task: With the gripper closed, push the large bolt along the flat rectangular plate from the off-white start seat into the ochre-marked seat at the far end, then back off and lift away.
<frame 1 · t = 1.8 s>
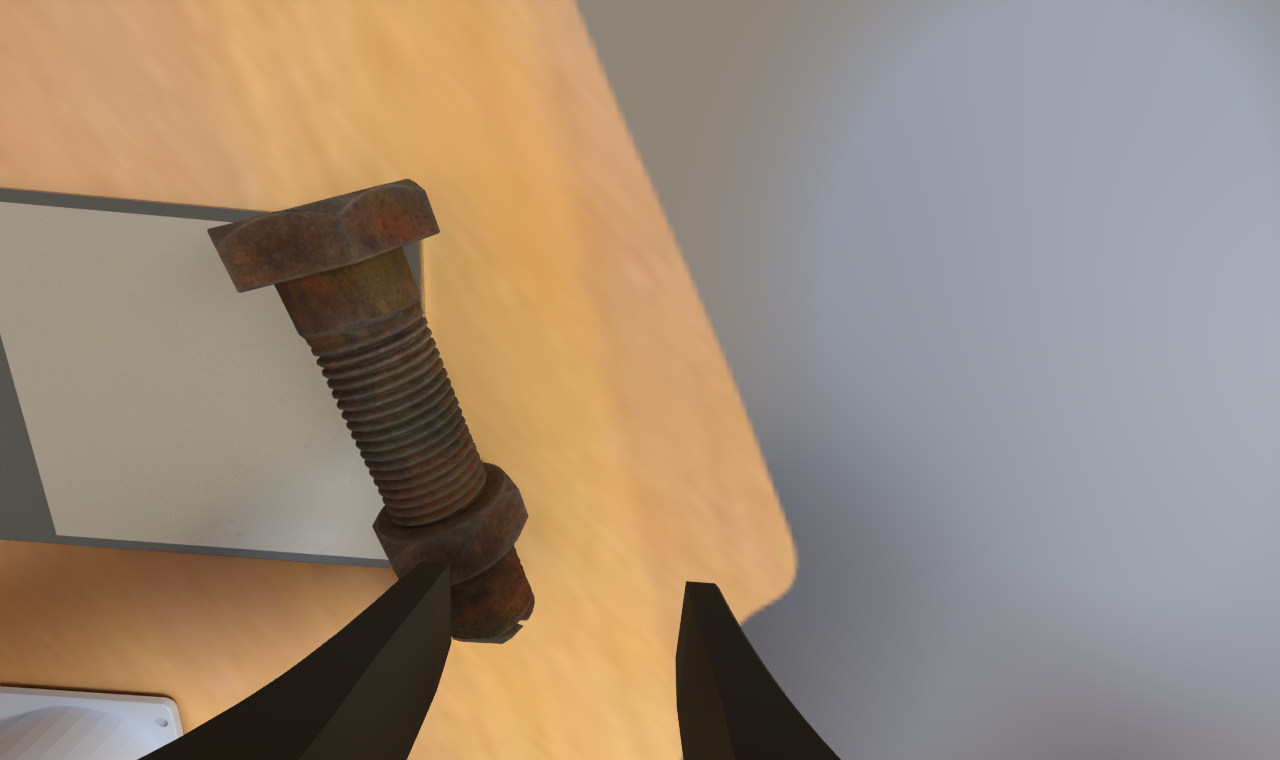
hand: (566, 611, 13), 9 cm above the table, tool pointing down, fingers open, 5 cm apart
flat rectangular plate: (23, 380, 21), on the table
bolt: (432, 412, 21), on the table, touching flat rectangular plate
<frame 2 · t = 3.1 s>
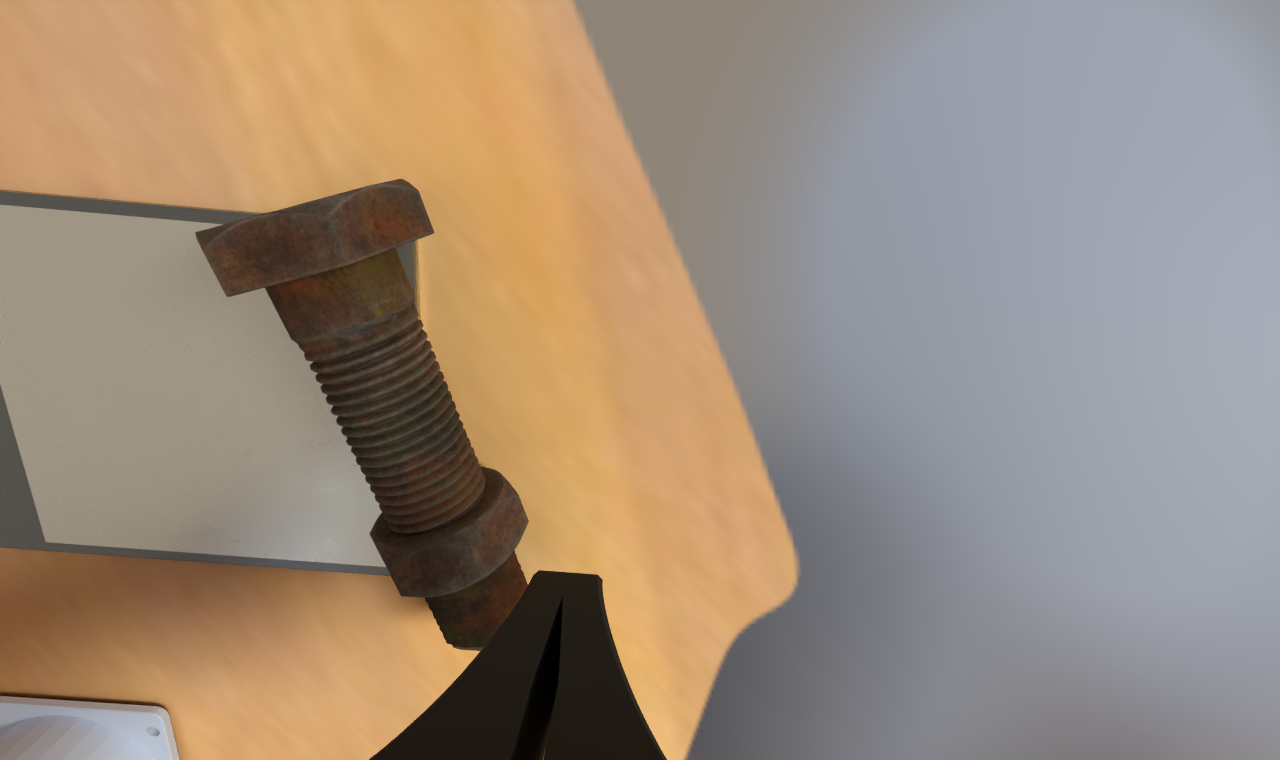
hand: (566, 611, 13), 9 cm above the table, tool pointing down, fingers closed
flat rectangular plate: (10, 385, 20), on the table
bolt: (430, 416, 21), on the table, touching flat rectangular plate
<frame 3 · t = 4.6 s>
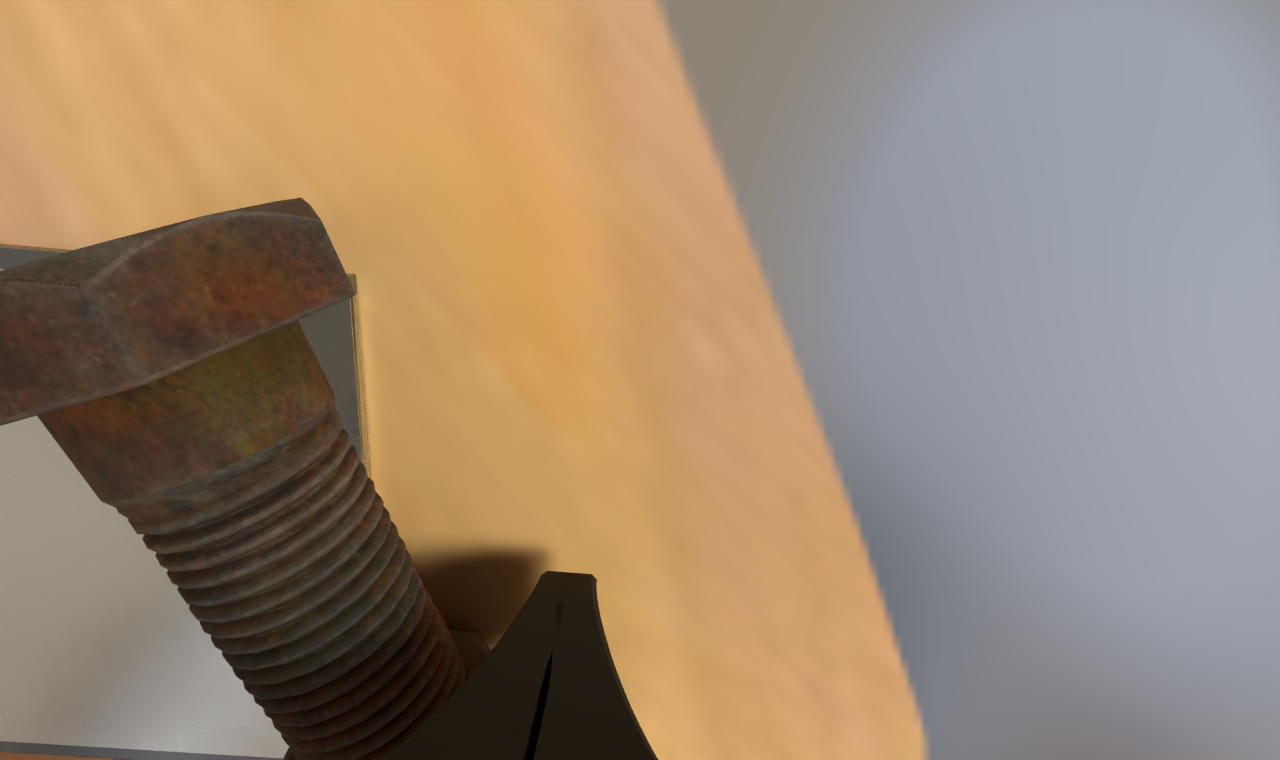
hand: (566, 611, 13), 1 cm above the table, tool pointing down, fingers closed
bolt: (385, 556, 14), on the table, touching gripper, flat rectangular plate
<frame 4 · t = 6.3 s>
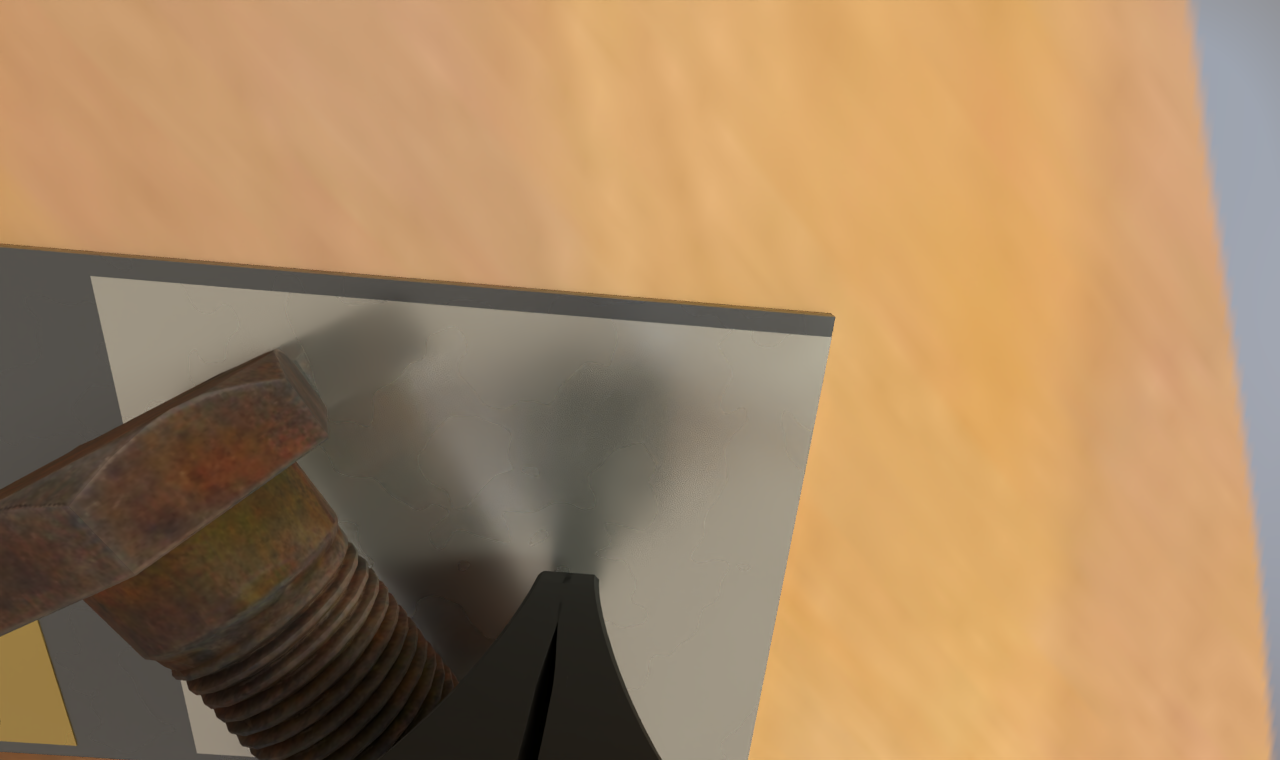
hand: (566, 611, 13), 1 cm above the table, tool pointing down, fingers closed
flat rectangular plate: (162, 543, 14), on the table
bolt: (424, 643, 14), resting on flat rectangular plate, touching gripper
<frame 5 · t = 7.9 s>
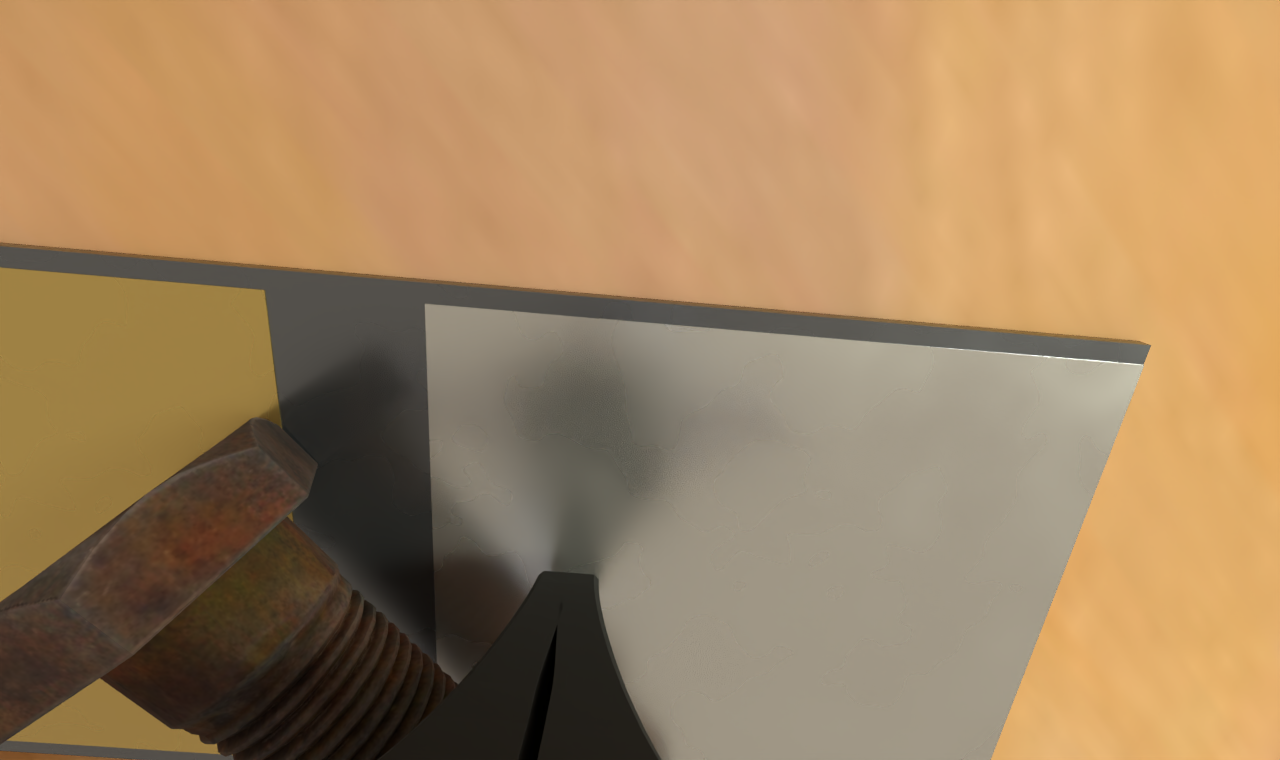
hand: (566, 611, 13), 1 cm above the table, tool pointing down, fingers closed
flat rectangular plate: (438, 562, 14), on the table
bolt: (452, 675, 15), resting on flat rectangular plate, touching gripper
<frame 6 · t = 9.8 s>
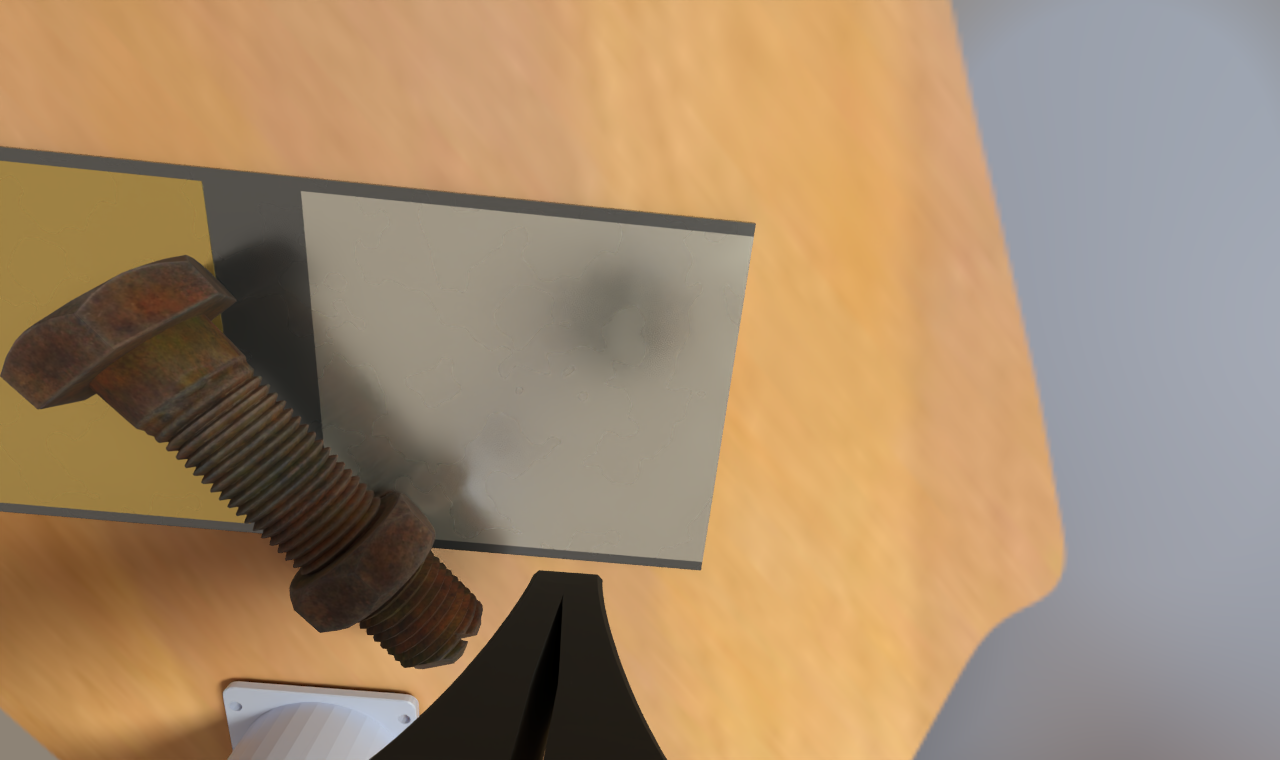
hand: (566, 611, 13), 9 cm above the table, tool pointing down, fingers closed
flat rectangular plate: (322, 374, 21), on the table
bolt: (334, 459, 22), resting on flat rectangular plate
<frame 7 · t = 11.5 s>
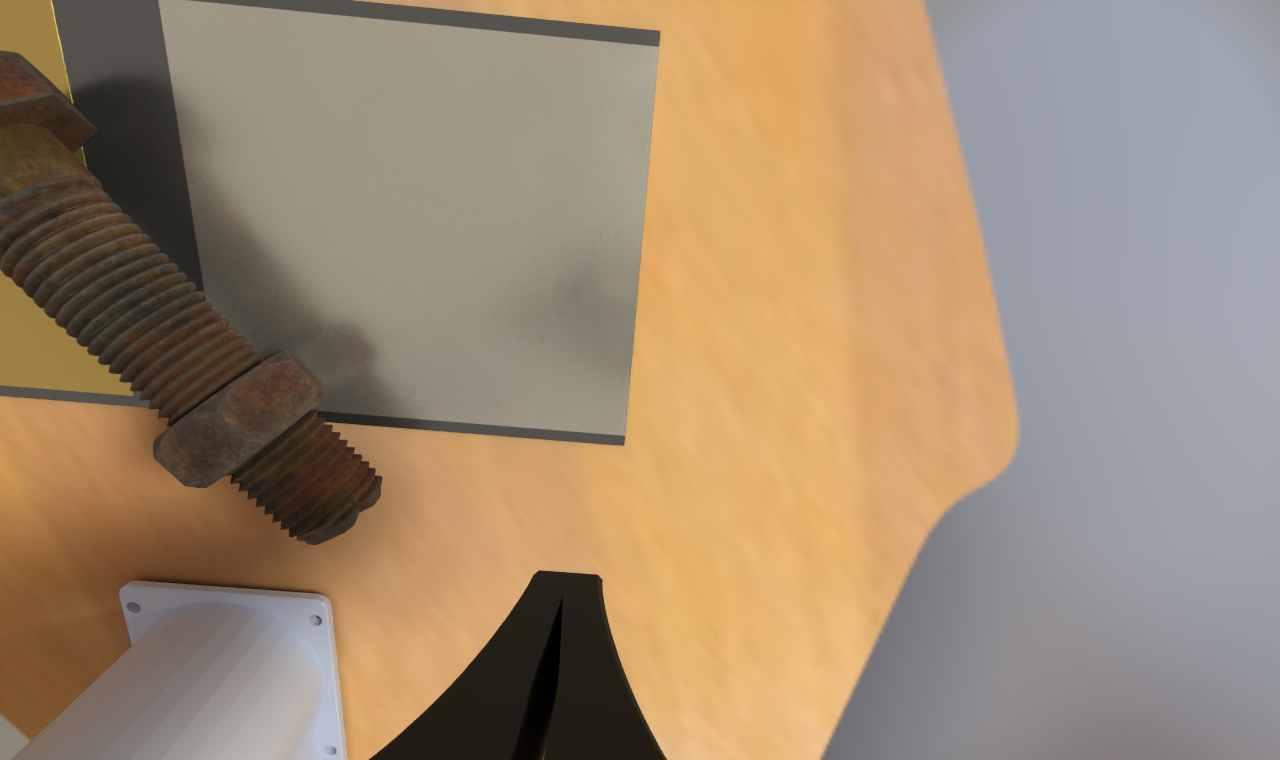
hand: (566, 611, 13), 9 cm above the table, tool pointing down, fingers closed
flat rectangular plate: (200, 221, 19), on the table
bolt: (220, 321, 20), resting on flat rectangular plate
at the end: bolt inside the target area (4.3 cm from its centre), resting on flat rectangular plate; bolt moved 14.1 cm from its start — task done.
